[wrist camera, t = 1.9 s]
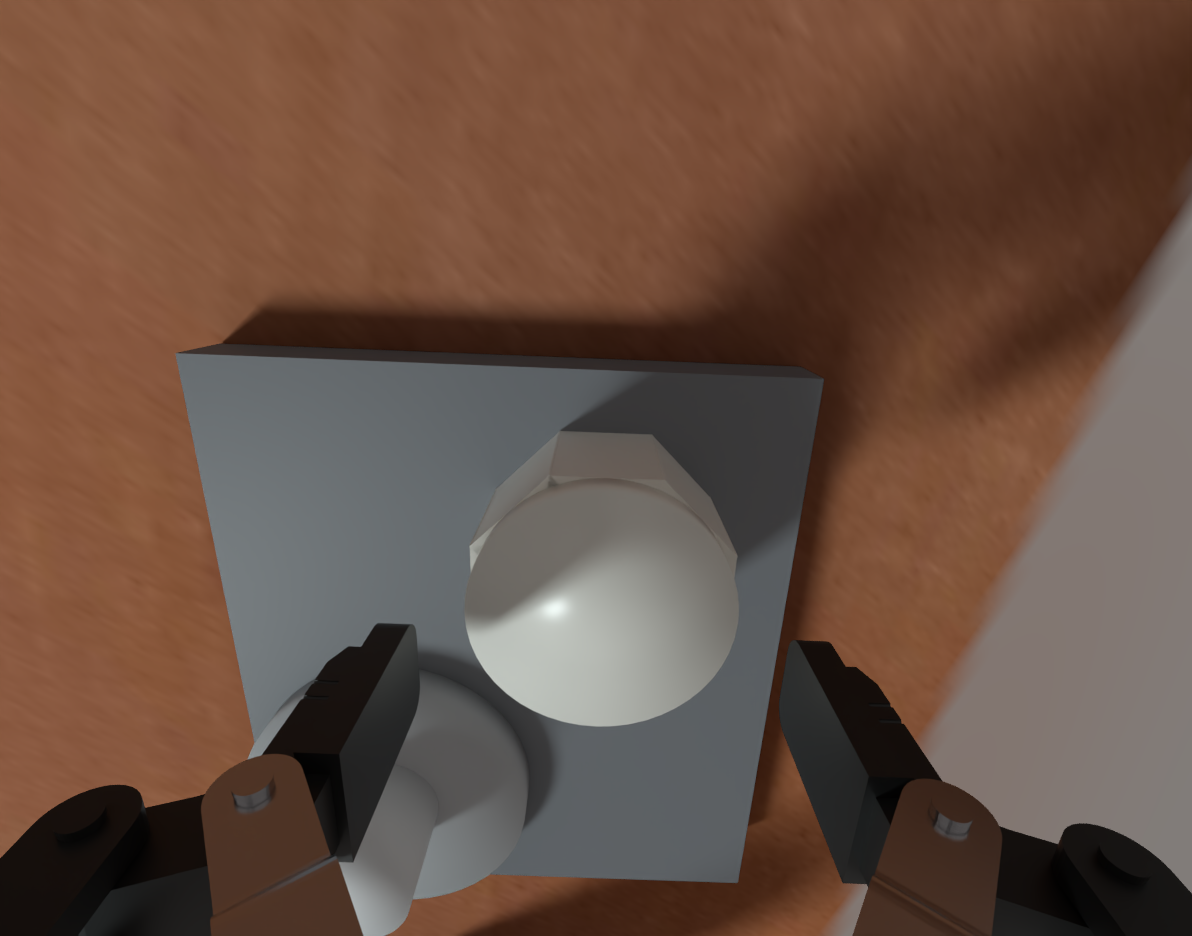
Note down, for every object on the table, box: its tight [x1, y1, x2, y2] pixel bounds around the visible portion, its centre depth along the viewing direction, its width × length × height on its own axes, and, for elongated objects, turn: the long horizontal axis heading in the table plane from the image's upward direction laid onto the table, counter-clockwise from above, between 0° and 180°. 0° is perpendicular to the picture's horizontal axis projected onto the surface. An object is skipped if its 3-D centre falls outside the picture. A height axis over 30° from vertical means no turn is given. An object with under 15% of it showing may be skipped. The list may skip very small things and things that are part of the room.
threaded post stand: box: [176, 344, 824, 936], centre depth 18 cm, size 20×18×6 cm
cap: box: [464, 430, 739, 727], centre depth 16 cm, size 6×6×4 cm
